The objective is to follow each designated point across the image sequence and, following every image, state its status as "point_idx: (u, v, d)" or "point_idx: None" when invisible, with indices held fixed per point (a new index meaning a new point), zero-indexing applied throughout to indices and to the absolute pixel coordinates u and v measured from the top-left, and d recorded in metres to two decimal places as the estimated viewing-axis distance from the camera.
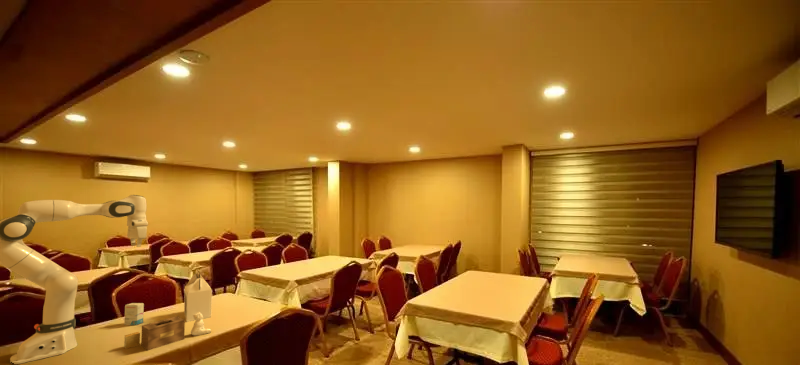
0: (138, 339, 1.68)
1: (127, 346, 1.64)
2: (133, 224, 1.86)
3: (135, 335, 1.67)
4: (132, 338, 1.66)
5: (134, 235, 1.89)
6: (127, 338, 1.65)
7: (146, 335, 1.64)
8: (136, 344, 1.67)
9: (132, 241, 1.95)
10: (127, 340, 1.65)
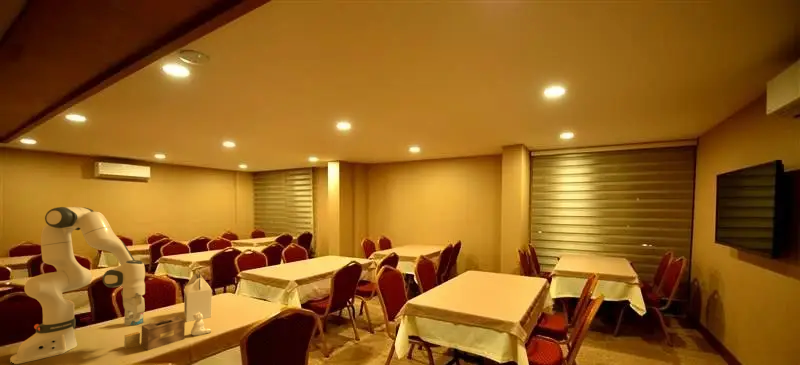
0: (138, 339, 1.68)
1: (127, 346, 1.64)
2: None
3: (135, 335, 1.67)
4: (132, 338, 1.66)
5: None
6: (127, 338, 1.65)
7: (146, 335, 1.64)
8: (136, 344, 1.67)
9: None
10: (127, 340, 1.65)
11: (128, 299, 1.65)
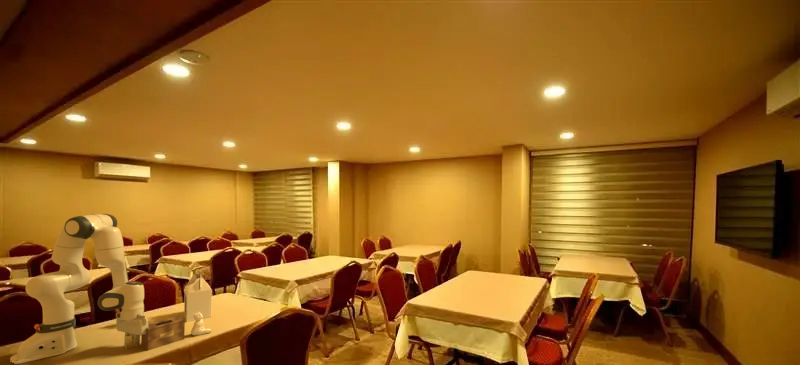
0: (138, 339, 1.68)
1: (127, 346, 1.64)
2: None
3: None
4: (132, 338, 1.66)
5: None
6: (127, 338, 1.65)
7: (146, 335, 1.64)
8: (136, 344, 1.67)
9: None
10: (127, 340, 1.65)
11: (128, 321, 1.65)
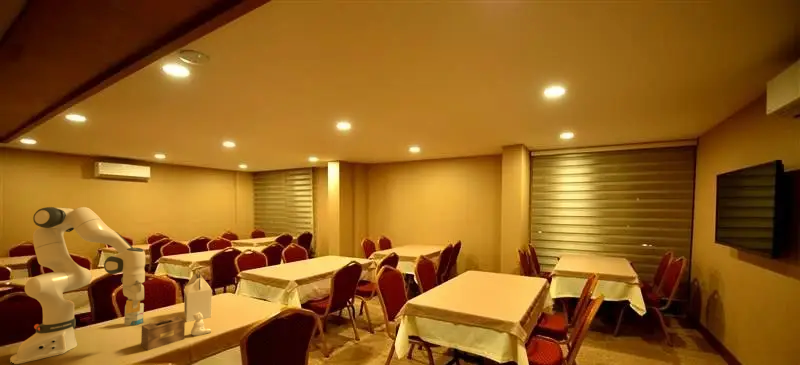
0: (138, 305, 1.68)
1: (127, 311, 1.66)
2: None
3: None
4: None
5: None
6: (127, 303, 1.66)
7: (146, 335, 1.64)
8: (136, 310, 1.68)
9: None
10: (127, 305, 1.66)
11: (128, 286, 1.66)
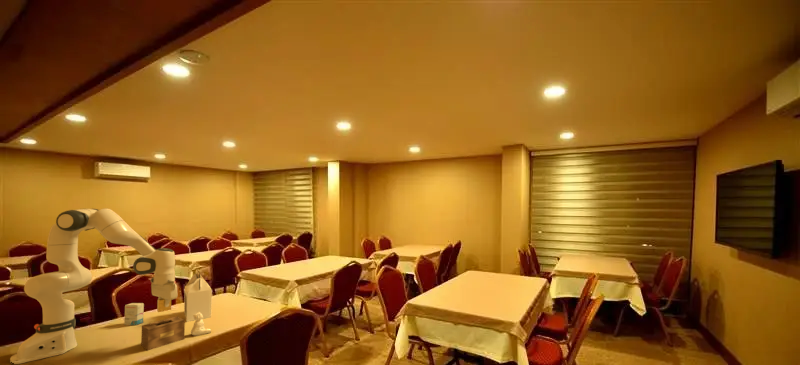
0: (169, 304, 1.73)
1: (159, 310, 1.70)
2: None
3: None
4: (164, 302, 1.71)
5: None
6: (159, 302, 1.70)
7: (146, 335, 1.64)
8: (168, 308, 1.72)
9: None
10: (159, 304, 1.70)
11: (160, 286, 1.70)
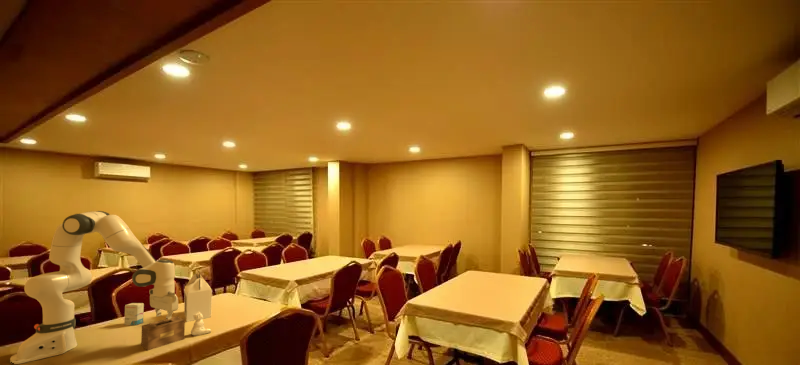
0: None
1: None
2: None
3: None
4: None
5: None
6: None
7: (146, 335, 1.64)
8: None
9: None
10: None
11: (160, 297, 1.70)
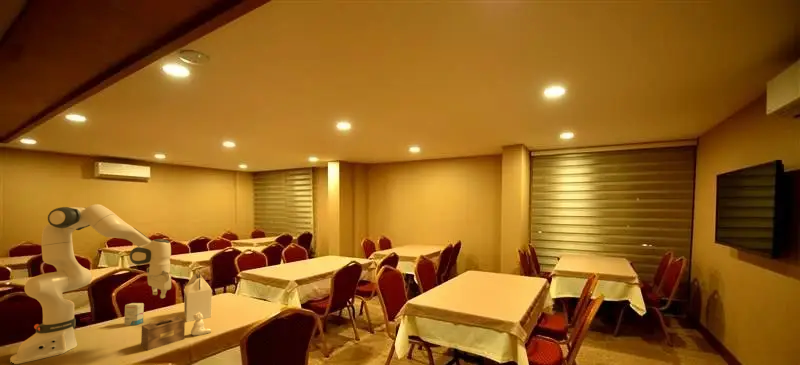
0: None
1: None
2: None
3: None
4: None
5: None
6: None
7: (146, 335, 1.64)
8: None
9: None
10: None
11: (155, 276, 1.71)
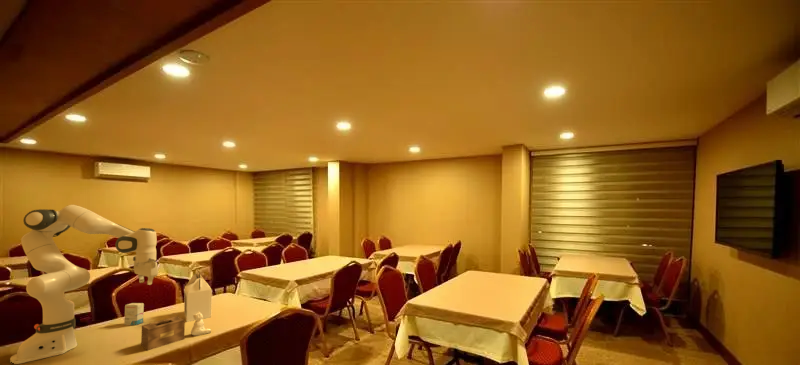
0: None
1: None
2: None
3: None
4: None
5: None
6: None
7: (146, 335, 1.64)
8: None
9: None
10: None
11: (141, 264, 1.76)
